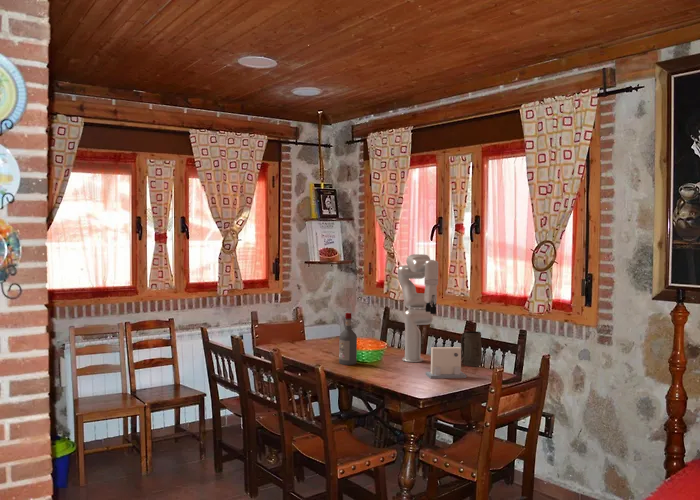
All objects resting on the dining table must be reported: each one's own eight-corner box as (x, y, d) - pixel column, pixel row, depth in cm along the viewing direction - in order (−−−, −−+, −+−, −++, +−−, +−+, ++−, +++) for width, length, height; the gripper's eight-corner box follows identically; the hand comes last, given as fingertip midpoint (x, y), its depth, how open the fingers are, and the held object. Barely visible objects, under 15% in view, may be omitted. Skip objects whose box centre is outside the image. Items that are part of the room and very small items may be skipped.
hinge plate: (425, 374, 334) (425, 364, 334) (460, 373, 336) (460, 363, 336) (430, 378, 324) (430, 368, 324) (466, 377, 326) (466, 367, 326)
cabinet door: (430, 372, 330) (431, 347, 330) (458, 372, 333) (459, 347, 333) (432, 374, 326) (433, 348, 326) (461, 374, 329) (461, 348, 328)
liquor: (346, 365, 353) (347, 314, 353) (337, 363, 360) (337, 312, 360) (358, 363, 359) (359, 313, 359) (348, 361, 366) (349, 311, 366)
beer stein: (486, 365, 361) (485, 331, 362) (475, 367, 354) (473, 333, 355) (465, 362, 373) (464, 330, 374) (454, 364, 366) (453, 331, 366)
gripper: (420, 281, 347) (420, 311, 348) (428, 283, 330) (428, 314, 330) (433, 281, 348) (433, 311, 349) (442, 283, 331) (441, 314, 332)
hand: (430, 312), depth 340 cm, fingers open, 9 cm apart
